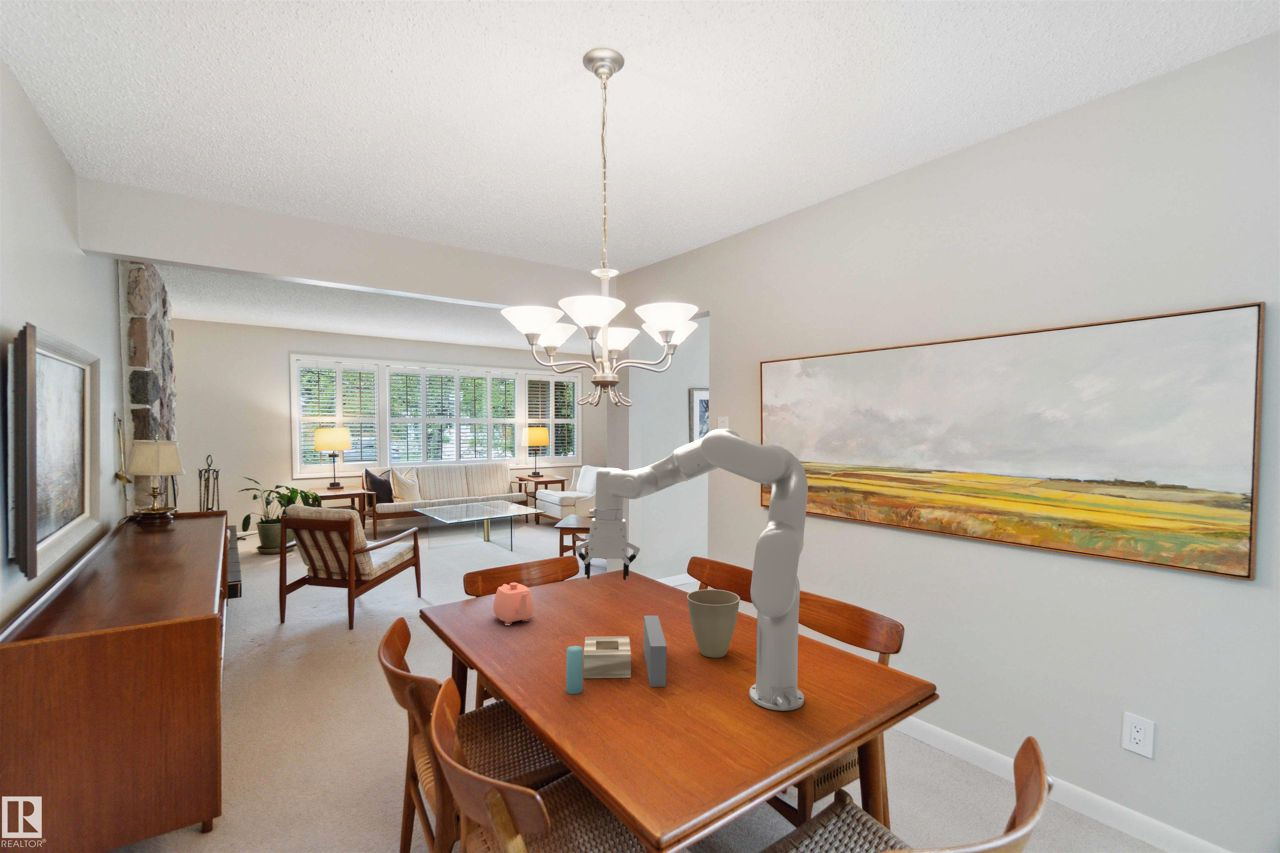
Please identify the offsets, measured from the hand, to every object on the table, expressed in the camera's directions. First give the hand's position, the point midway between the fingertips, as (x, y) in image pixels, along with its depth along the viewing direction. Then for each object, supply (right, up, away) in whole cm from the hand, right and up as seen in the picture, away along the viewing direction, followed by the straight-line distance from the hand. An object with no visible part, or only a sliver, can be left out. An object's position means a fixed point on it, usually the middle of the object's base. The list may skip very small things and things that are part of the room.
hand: (606, 578), depth 150 cm
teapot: (-32, -23, +33) cm, 52 cm away
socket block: (0, -23, -2) cm, 23 cm away
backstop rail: (+13, -24, -1) cm, 27 cm away
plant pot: (+30, -24, +9) cm, 39 cm away
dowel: (-7, -23, -14) cm, 28 cm away
